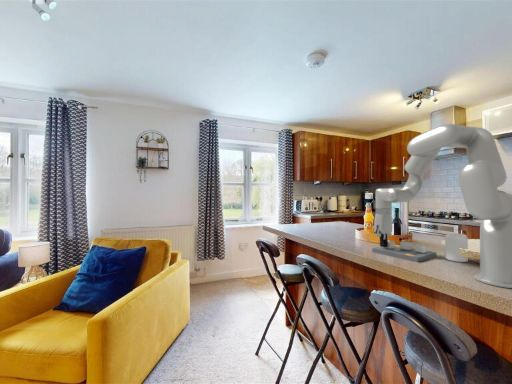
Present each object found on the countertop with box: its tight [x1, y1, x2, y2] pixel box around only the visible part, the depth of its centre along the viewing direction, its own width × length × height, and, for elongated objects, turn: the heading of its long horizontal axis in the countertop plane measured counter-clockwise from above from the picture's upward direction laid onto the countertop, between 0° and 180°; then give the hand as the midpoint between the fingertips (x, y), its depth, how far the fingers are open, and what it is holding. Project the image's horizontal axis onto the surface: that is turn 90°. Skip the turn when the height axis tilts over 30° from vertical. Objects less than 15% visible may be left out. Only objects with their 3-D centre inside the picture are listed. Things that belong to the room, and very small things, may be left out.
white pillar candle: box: [444, 232, 469, 263], centre depth 111 cm, size 8×8×12 cm
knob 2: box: [399, 240, 414, 250], centre depth 125 cm, size 4×4×4 cm
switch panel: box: [371, 244, 437, 263], centre depth 123 cm, size 22×18×2 cm
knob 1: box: [385, 239, 395, 249], centre depth 128 cm, size 4×4×4 cm
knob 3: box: [414, 242, 430, 253], centre depth 119 cm, size 4×4×4 cm
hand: (383, 246), depth 126 cm, fingers closed
